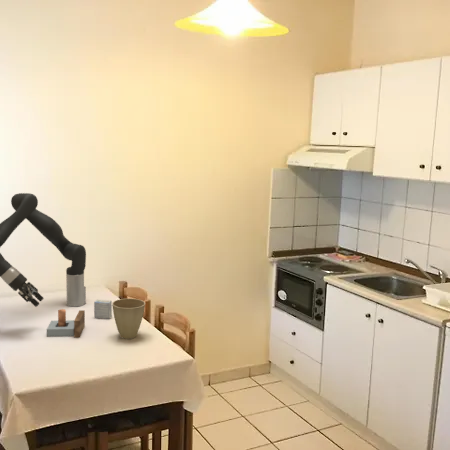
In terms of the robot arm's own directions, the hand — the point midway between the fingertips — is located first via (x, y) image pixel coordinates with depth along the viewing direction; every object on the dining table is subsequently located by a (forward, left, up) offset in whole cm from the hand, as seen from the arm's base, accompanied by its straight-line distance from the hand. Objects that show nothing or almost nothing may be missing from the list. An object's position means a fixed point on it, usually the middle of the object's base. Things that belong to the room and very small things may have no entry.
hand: (40, 302), depth 261 cm
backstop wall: (-14, +11, -14) cm, 23 cm away
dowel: (-8, +6, -14) cm, 17 cm away
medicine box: (-34, +1, -14) cm, 37 cm away
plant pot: (-28, +31, -14) cm, 44 cm away
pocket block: (-8, +6, -15) cm, 18 cm away
